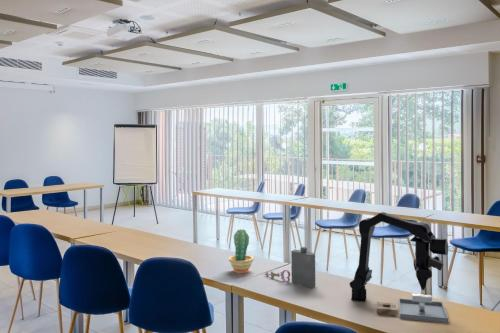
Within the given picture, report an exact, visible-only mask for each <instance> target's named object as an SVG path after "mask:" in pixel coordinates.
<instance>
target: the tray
mask: <svg viewBox="0 0 500 333" xmlns="http://www.w3.org/2000/svg"><path fill="white" fill-rule="evenodd" d="M397 302H398V312H399V319H402V320H403V319H405V320H415V321H424V322H435V323H446V324H448V323H449V316H448V313H447V311H446V307H445V305H444V302H443V301H434V300H432V303H427V302H425V312H420V311H419V302H416V301H412V298H399V297H398V301H397Z"/></svg>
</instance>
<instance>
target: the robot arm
mask: <svg viewBox="0 0 500 333" xmlns="http://www.w3.org/2000/svg"><path fill="white" fill-rule="evenodd" d="M380 223H385V224H387V225H391V226H393V227H397V228H400V229H403V230H405V231H407V232H409V233H410V234H412V236H413V237H412V238H411V239H410V242H414V243H415V252H414V256H415V258H414V260H413V268H414V271H415V277H416V278H417V282H418V283H419V286H420V288H421V291H425V290H426V286H427V283H428V280H429V279H431V278H432V276H433V272H432V270H431V269H430V268H431V267H432V268H434V269H437V271H442V270H443V266H444V262H443V261H442V260H440V257H439V256H437V255H443V256H448V253H449V244H448V239H447V238H437V237H436V236H435V235H434V233H433V232H432V230H431V227H430V226H429V225H430V224H428V223H426V222H421V221H411V220H408V219H405V218H401V217H398V216H395V215H392V214H389V213H386V212H384V211H381V212H379V213H377V214H376V215H373V216H372V217H368V218H364V219H362V220H360V221H359V223H358V228H359V229H358V230H359V235H360V245H359V246H360V247H359V256H358V257H359V259H358V266H357V268H356V271H355V273H354V277H353V280H352V281H350V282H349V287H350V289H351V298H350V300H351V301H358V302H366V300H367V288H366V285H367V284H368V282H370V281H371V279H372V278H373V276H372V274H373V269H370V266H369V265H370V264H369V262H370V253H371V252H370V251H371V241H372V236H373V234H374V231H375V228H376V226H377V225H378V224H380ZM430 253H431V254H433V255H434V254H435V256H433V257H431V255H430Z"/></svg>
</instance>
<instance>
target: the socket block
mask: <svg viewBox="0 0 500 333" xmlns="http://www.w3.org/2000/svg"><path fill="white" fill-rule="evenodd" d="M376 303H377V309H376V312H377V315H383V316H384V315H387V316H397V304H396V303H394V302H393V303H392V302H385V301H383V302H382V301H381V302H380V301H377V302H376Z"/></svg>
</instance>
